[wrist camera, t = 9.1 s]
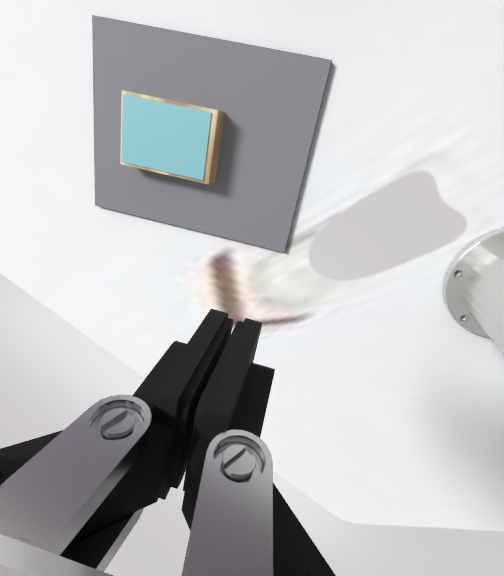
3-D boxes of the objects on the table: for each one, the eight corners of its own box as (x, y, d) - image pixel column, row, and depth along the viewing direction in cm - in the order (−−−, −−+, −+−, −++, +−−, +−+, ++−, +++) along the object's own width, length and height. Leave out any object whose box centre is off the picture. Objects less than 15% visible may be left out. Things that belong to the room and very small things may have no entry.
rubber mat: (331, 61, 31) (331, 60, 30) (284, 250, 39) (284, 252, 39) (96, 17, 33) (92, 15, 33) (98, 204, 41) (95, 205, 41)
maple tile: (217, 110, 32) (120, 89, 33) (208, 184, 35) (119, 164, 36) (224, 112, 34) (134, 93, 35) (215, 182, 37) (131, 162, 38)
